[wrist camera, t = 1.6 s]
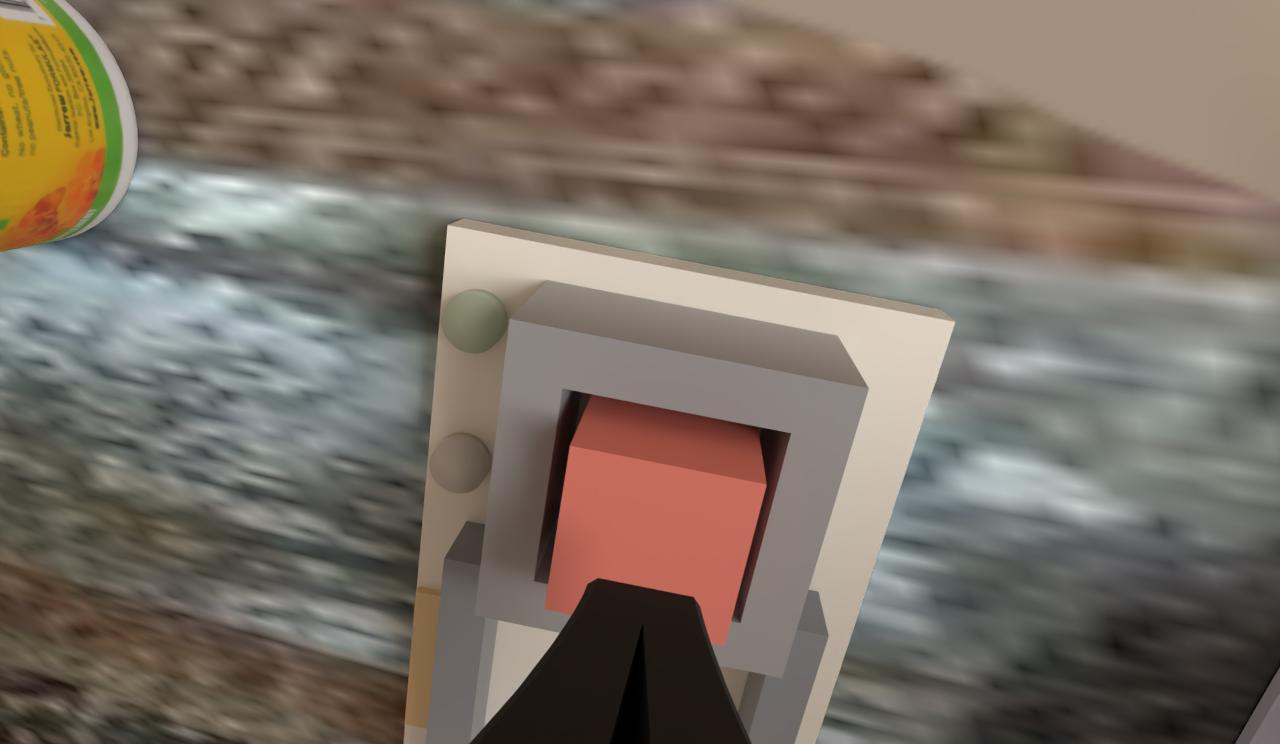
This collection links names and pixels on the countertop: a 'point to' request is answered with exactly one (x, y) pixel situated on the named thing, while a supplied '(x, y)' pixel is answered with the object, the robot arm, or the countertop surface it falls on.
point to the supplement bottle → (59, 125)
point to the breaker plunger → (658, 506)
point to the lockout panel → (672, 379)
